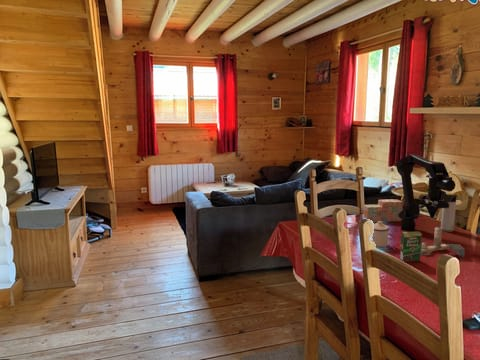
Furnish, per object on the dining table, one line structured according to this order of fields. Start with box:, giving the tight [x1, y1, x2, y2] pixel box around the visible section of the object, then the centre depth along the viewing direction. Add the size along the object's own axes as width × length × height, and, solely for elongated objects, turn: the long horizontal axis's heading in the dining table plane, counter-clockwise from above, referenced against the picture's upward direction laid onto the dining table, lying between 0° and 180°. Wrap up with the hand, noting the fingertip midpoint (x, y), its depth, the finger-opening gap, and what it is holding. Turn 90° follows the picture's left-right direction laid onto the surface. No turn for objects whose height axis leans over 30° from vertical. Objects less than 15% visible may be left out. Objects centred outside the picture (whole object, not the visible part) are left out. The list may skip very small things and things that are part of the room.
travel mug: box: [440, 194, 458, 233], centre depth 200 cm, size 6×7×20 cm
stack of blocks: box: [362, 198, 403, 223], centre depth 221 cm, size 21×6×12 cm, turn 93°
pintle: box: [420, 241, 432, 256], centre depth 170 cm, size 6×6×5 cm
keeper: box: [446, 243, 466, 259], centre depth 167 cm, size 5×6×4 cm
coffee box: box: [399, 231, 423, 263], centre depth 161 cm, size 8×3×13 cm, turn 90°
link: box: [421, 227, 449, 254], centre depth 171 cm, size 16×5×10 cm, turn 107°
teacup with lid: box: [372, 221, 390, 248], centre depth 182 cm, size 12×9×12 cm
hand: (432, 217), depth 185 cm, fingers closed
